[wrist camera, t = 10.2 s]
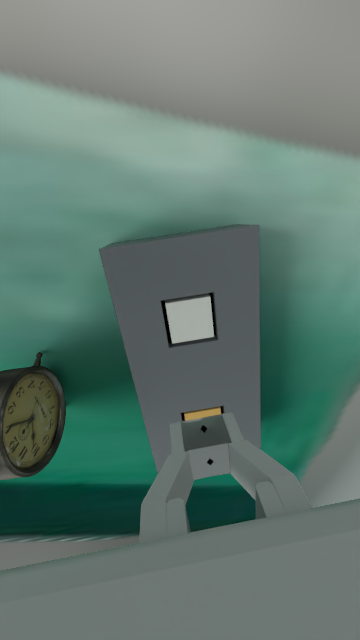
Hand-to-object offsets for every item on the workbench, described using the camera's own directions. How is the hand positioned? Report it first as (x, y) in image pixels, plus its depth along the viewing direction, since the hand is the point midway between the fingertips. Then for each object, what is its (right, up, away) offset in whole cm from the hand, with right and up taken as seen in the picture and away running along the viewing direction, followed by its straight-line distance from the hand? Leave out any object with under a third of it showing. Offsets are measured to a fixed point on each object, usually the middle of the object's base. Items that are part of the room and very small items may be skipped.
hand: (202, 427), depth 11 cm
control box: (0, +1, +20) cm, 20 cm away
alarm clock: (-19, -3, +21) cm, 28 cm away
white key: (0, +6, +15) cm, 16 cm away
